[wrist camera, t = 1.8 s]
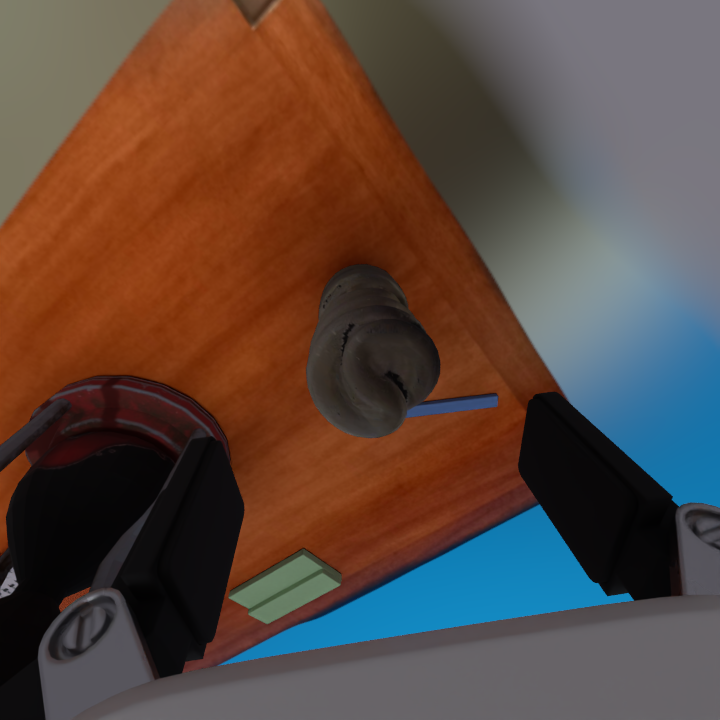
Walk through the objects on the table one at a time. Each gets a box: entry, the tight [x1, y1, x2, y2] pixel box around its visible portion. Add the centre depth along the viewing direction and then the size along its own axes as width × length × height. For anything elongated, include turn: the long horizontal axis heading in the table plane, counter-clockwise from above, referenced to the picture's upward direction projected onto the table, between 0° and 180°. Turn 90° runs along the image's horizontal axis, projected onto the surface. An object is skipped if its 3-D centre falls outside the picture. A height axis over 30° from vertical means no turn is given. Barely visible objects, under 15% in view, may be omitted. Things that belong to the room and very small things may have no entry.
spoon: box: [406, 393, 498, 418], centre depth 32 cm, size 13×4×1 cm, turn 95°
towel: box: [228, 549, 341, 624], centre depth 42 cm, size 12×7×1 cm, turn 127°
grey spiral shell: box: [306, 264, 440, 438], centre depth 20 cm, size 6×6×15 cm
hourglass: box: [0, 376, 230, 686], centre depth 21 cm, size 16×16×25 cm
